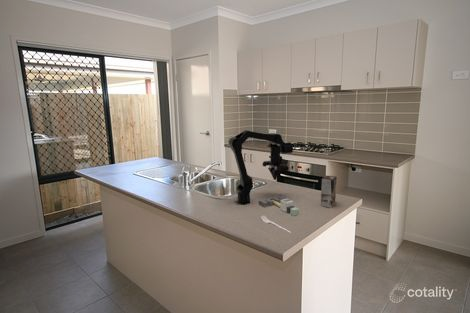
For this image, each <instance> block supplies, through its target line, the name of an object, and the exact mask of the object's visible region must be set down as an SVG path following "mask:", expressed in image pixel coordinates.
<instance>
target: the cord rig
mask: <svg viewBox="0 0 470 313" xmlns="http://www.w3.org/2000/svg"><path fill="white" fill-rule="evenodd" d="M284 199H287V198H286V197H284V196H283V195H280V196H279V195H278V196H274V197H268V198H265V199H261V200H258V205H259V206H262V207H263V208H266V207H272V206H277V207H279V208H280V202H281V200H284ZM299 212H300V208H298V207H296V206H294V205H293V206H290V207H287V212H286V213H287V214H290V215H292V216H297V215H300V213H299Z"/></svg>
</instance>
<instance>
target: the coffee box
mask: <svg viewBox="0 0 470 313" xmlns="http://www.w3.org/2000/svg"><path fill="white" fill-rule="evenodd" d="M337 179H338V178H337V176H335V175H324V176H323V178H321V192H320V193H321V194H320V206H321V207H324V208H326V207H327V208H333V207H334V205H335V204H336V196H337V195H336V192H337Z"/></svg>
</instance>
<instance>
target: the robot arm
mask: <svg viewBox="0 0 470 313" xmlns="http://www.w3.org/2000/svg"><path fill="white" fill-rule="evenodd" d="M249 138H250V139H257V140H263V141H264V140H265V141H267V142H270V143H269V144H268V145H267V148H270V155H269V156H268V158H269V159H270V160H264V161H263V162H262V167H267V166H268V168H267V170H269V172H270V174H271V177H272V179H273V180H275V181H276V180H277V178H278V175H279V173H283V172H288V171H290V170H289V169H290V167H289V166H288V162H289V160H288V159H284V158H283V156H282V155H284V154H285V155H286V154H288V155H289V154H292V153H293V152H294V148H293V145H292V142H290V141H287V142H285V141H284V139H283V138H282V135H281V134H280V133H276V132H275V133H274V132H270V133H269V132H268V133H266V132H265V133H264V132H258V131H252V130H251V131H250V130H249V129H248V130H247V129H245V130H243V131H242V132H240V133H238V134H237V135H235V136H233V137H230V138H229V140H228V145H229V148H230V149H231V151H232V153H233V154H234V158H235V162H236V165H237V169H238V173H239V184H238V185H237V186H236V191H237V200H236V203H237V204H240V205H242V206H243V205H248V204H251V202H252V201H251V199H250V197H251V195H250V194H251V191H252V189H253V188H254V182H253V178H252V176H250V175H248V172H247V167H246V164H245V160H244V157H243V153H242V152H243V144H244V143H245V142H246V141H247V140H248V139H249ZM281 154H282V155H281Z"/></svg>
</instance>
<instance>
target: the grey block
mask: <svg viewBox="0 0 470 313" xmlns="http://www.w3.org/2000/svg"><path fill="white" fill-rule="evenodd" d="M290 206H294V200H292V199H290V198H286V199H284V200H281V202H280V207H279V209H280V211H283V212H284V213H287V207H290Z"/></svg>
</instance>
